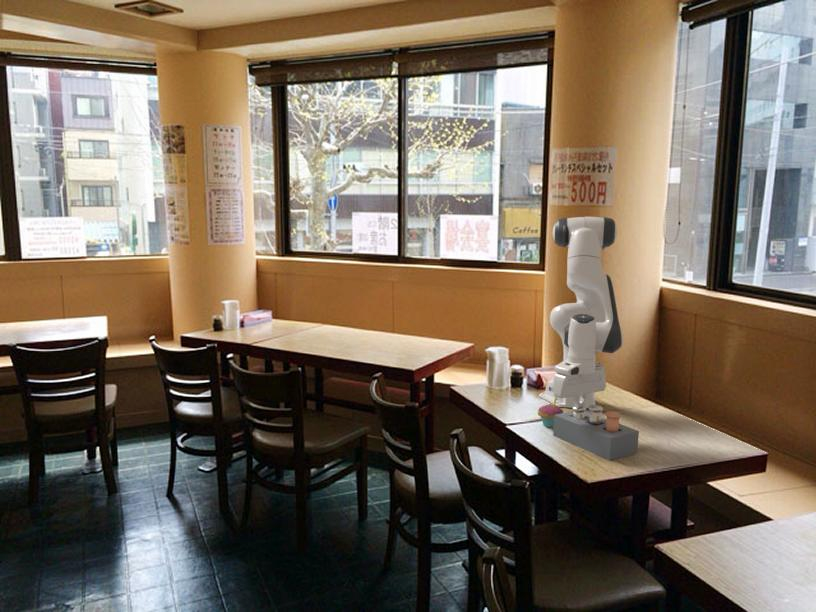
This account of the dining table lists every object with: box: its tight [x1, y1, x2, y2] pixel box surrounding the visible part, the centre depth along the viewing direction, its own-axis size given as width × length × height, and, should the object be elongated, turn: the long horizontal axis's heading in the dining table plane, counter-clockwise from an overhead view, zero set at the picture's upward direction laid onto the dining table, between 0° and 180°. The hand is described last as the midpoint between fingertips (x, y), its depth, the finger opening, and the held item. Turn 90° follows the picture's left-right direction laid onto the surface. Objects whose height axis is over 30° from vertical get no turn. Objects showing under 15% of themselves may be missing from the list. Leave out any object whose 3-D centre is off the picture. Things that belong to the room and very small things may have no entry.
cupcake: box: [537, 396, 564, 428], centre depth 219 cm, size 9×8×12 cm
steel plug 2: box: [588, 404, 604, 426], centre depth 202 cm, size 4×4×8 cm
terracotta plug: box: [605, 410, 621, 433], centre depth 196 cm, size 4×4×8 cm
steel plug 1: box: [572, 406, 587, 419], centre depth 208 cm, size 4×4×8 cm
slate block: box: [552, 410, 640, 461], centre depth 202 cm, size 24×12×7 cm, turn 30°
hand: (579, 407), depth 207 cm, fingers closed, pressing on steel plug 1
